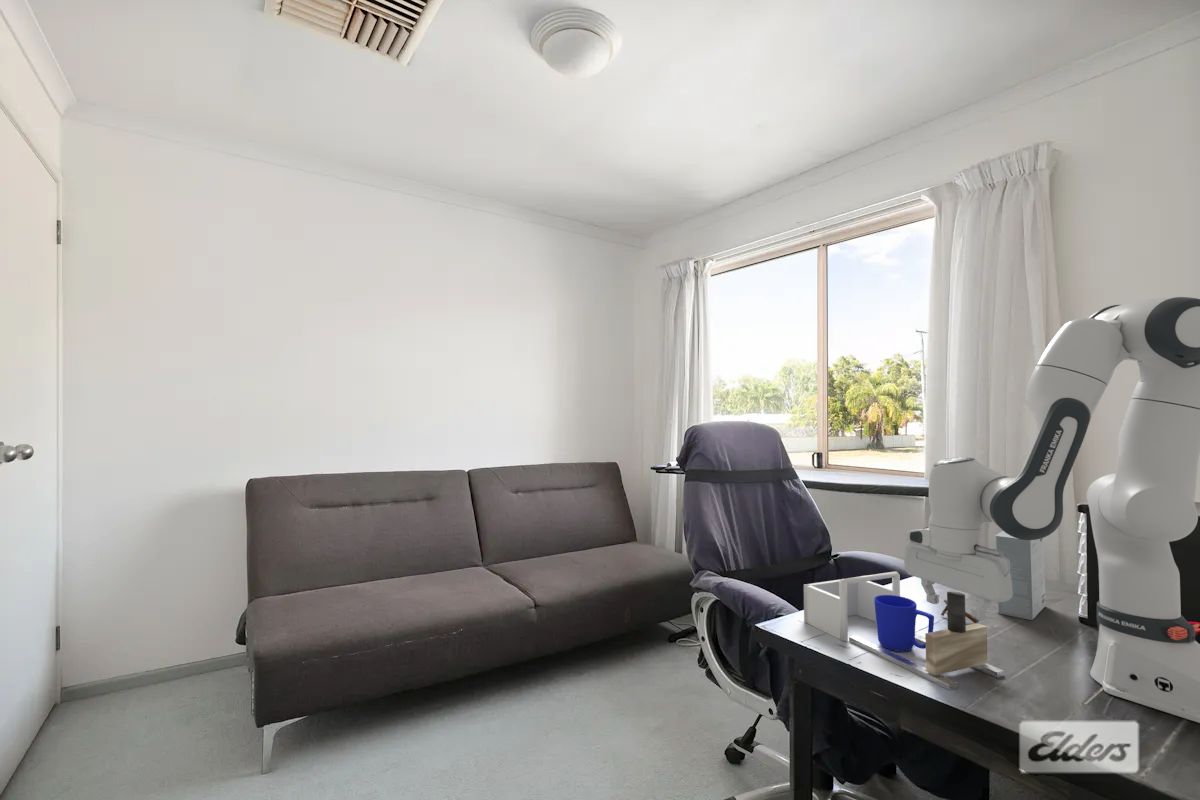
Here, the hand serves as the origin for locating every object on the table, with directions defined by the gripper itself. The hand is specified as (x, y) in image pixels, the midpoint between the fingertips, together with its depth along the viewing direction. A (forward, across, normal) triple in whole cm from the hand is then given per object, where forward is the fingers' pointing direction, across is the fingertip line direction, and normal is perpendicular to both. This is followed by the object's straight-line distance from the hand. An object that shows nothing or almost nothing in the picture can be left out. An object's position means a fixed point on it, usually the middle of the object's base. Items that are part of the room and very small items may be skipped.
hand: (954, 610), depth 111 cm
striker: (+11, 0, 0) cm, 11 cm away
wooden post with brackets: (+12, +19, -28) cm, 36 cm away
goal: (+12, +27, 0) cm, 29 cm away
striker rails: (+12, +8, 0) cm, 15 cm away
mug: (+13, +12, 0) cm, 17 cm away
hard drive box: (+12, +19, -49) cm, 54 cm away
